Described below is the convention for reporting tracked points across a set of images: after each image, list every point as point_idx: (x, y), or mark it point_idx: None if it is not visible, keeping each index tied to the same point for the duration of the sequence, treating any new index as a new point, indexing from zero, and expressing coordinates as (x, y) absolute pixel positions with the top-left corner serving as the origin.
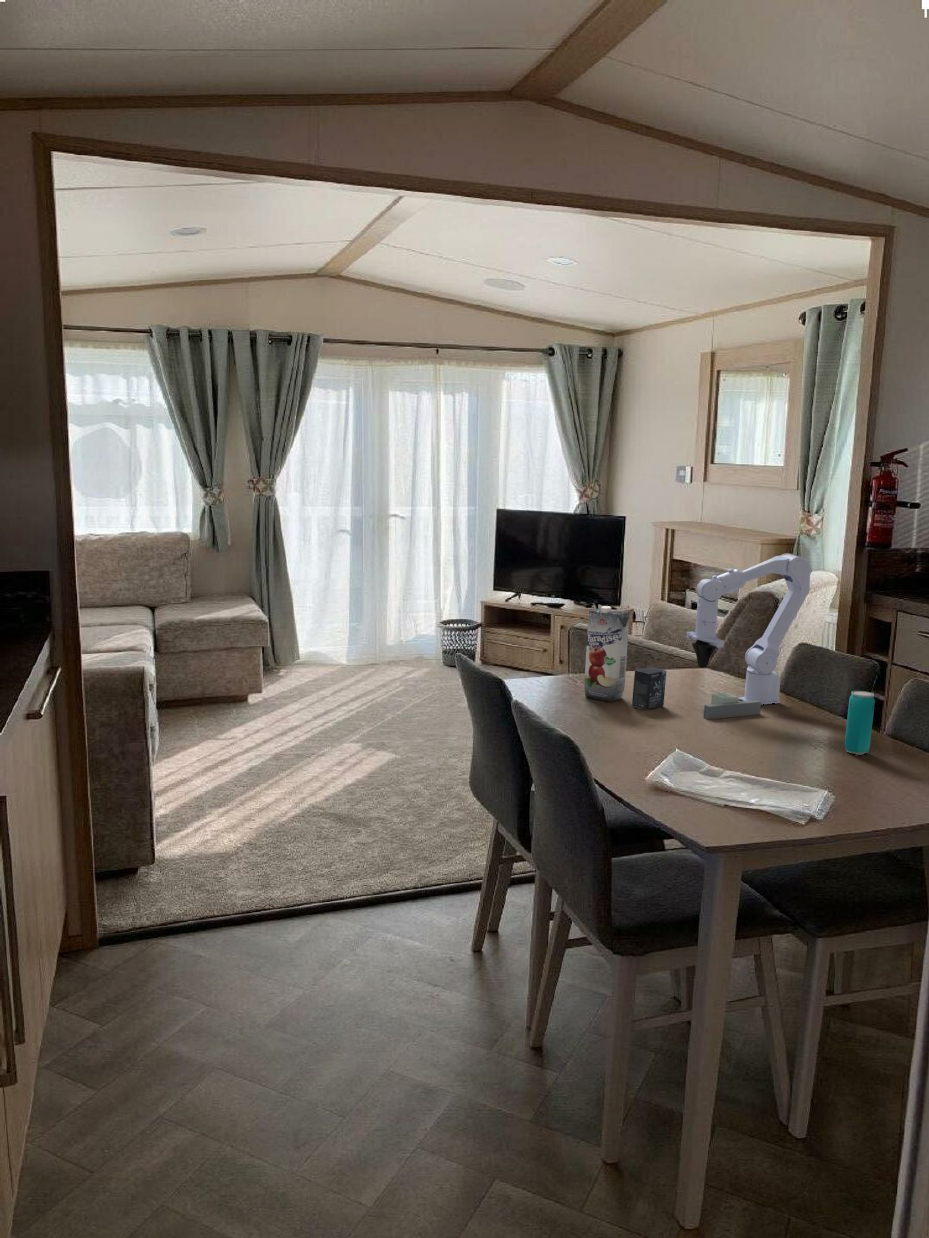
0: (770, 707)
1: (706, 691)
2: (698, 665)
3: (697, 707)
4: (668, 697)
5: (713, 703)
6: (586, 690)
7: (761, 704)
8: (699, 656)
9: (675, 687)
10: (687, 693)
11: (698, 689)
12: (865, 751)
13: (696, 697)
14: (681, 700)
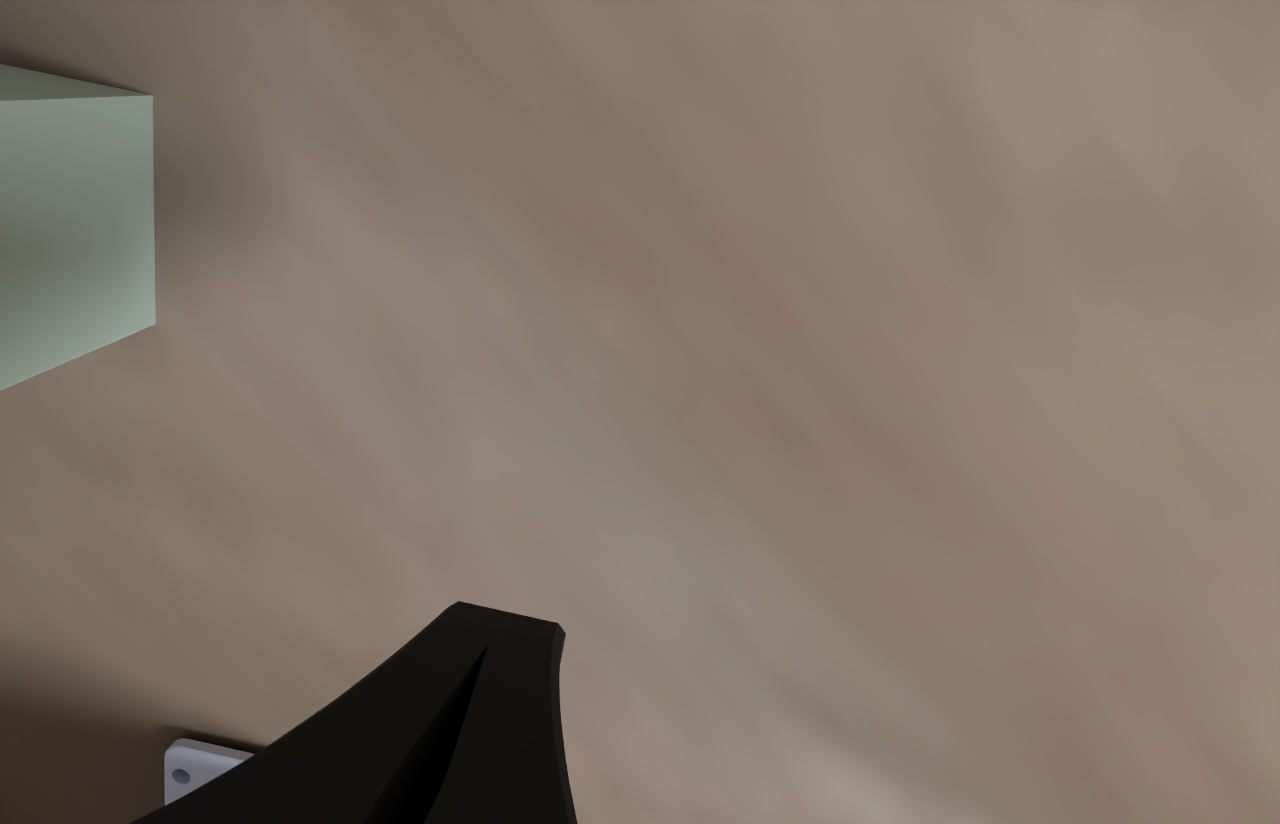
0: (93, 798)
1: (878, 806)
2: (538, 634)
3: (356, 74)
4: (967, 139)
5: (25, 89)
6: None
7: (170, 796)
8: (385, 774)
9: (1256, 667)
10: (951, 554)
11: (997, 807)
12: None
13: (746, 492)
14: (741, 179)
